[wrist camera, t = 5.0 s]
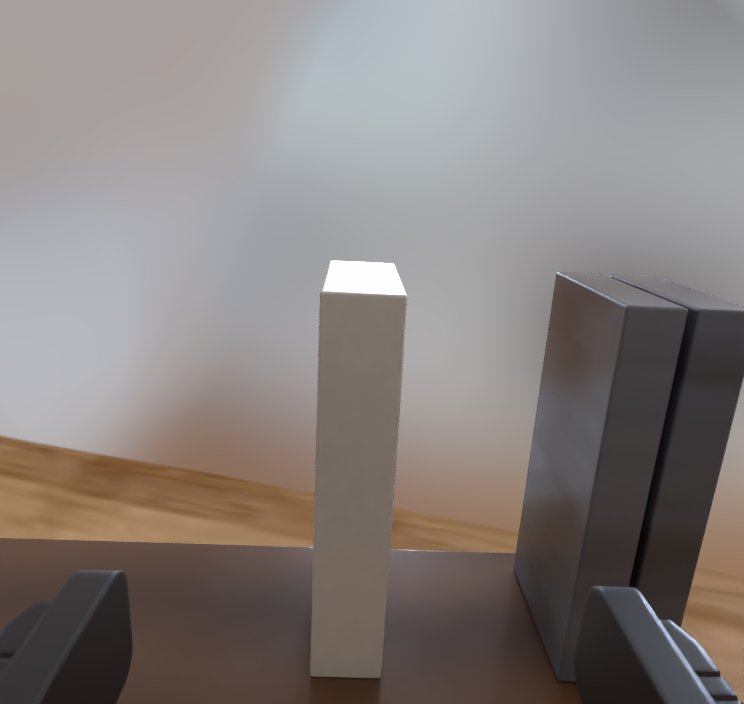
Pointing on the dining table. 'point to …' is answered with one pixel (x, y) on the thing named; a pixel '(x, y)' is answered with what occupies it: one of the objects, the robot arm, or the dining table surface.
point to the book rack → (465, 569)
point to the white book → (355, 464)
